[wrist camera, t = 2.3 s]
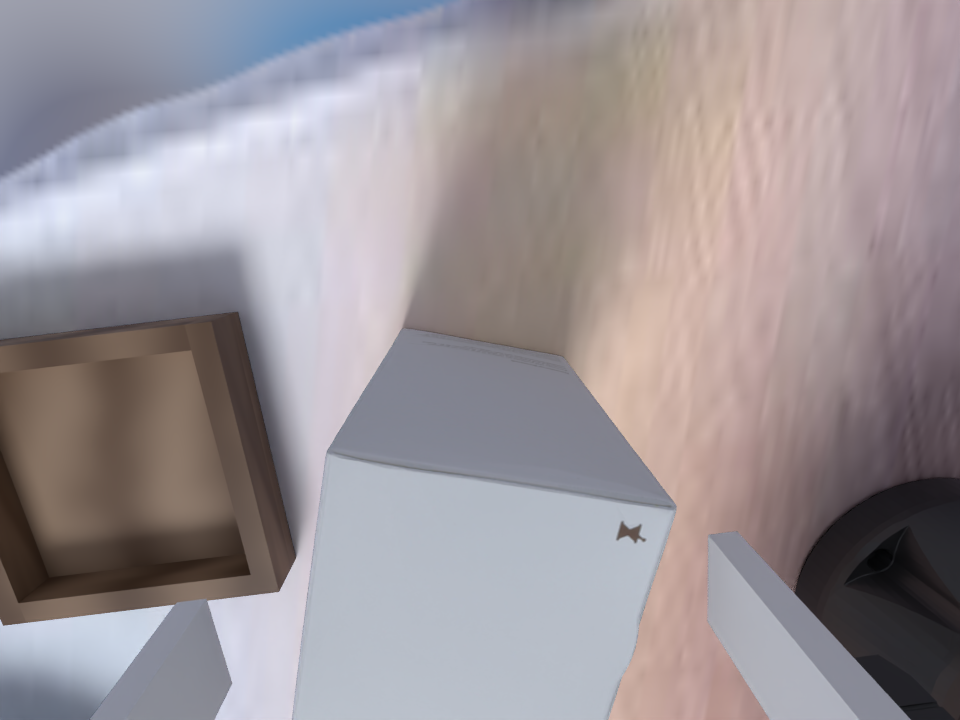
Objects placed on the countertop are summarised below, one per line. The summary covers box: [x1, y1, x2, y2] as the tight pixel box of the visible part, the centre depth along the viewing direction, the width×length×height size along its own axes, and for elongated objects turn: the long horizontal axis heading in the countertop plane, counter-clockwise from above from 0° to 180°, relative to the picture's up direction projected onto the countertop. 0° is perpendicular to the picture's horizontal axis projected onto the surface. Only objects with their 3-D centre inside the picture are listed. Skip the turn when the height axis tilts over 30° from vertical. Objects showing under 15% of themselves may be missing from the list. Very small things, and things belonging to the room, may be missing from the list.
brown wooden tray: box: [0, 312, 296, 626], centre depth 26 cm, size 14×14×3 cm
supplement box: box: [292, 329, 676, 720], centre depth 20 cm, size 9×9×15 cm
